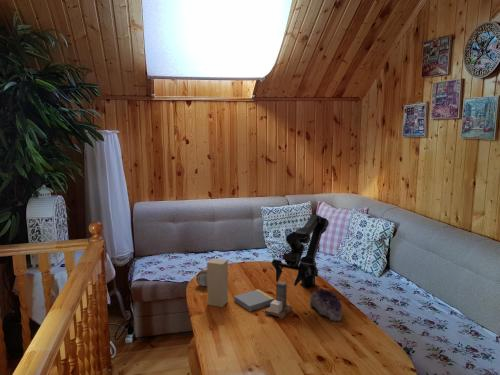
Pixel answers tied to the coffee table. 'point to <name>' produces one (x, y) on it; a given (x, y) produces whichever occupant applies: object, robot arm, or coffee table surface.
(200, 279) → the tin
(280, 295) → the grey column with base
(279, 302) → the box
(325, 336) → the coffee table surface
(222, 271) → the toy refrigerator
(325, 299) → the geode
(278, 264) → the robot arm
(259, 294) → the dock
